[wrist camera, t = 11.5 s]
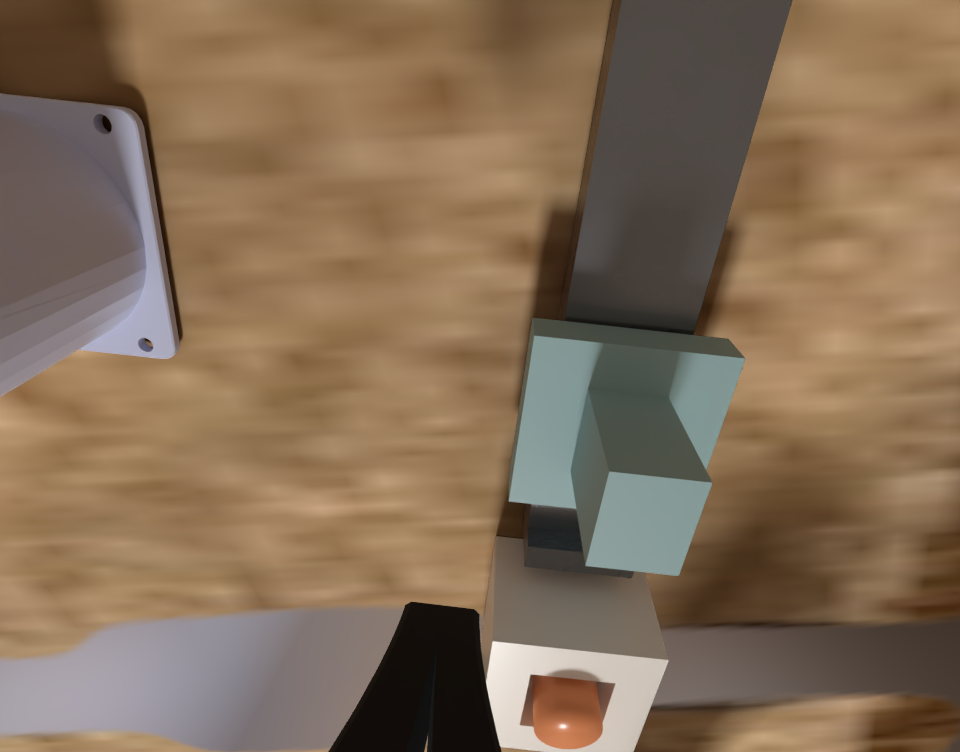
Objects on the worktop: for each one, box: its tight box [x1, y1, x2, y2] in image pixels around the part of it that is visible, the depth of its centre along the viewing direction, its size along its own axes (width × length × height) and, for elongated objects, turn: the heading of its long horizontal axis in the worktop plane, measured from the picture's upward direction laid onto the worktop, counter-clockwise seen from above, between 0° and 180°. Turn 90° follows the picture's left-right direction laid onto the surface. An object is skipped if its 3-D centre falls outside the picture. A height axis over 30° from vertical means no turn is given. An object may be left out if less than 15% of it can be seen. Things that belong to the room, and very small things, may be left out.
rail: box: [523, 0, 792, 578], centre depth 16 cm, size 4×26×2 cm, turn 175°
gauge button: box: [532, 675, 603, 749], centre depth 20 cm, size 2×2×2 cm
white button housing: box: [481, 536, 669, 752], centre depth 22 cm, size 6×6×5 cm
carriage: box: [509, 318, 745, 576], centre depth 16 cm, size 6×6×5 cm
